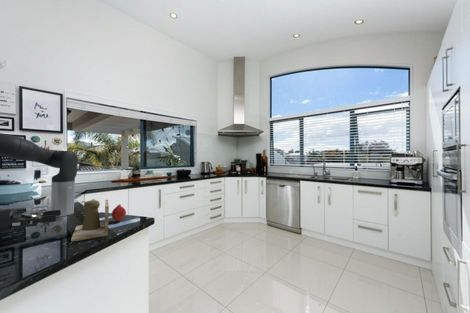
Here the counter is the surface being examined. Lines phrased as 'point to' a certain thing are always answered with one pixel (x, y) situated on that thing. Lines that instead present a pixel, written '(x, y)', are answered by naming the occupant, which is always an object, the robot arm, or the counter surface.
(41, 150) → the robot arm
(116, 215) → the onion
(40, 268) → the counter surface
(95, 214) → the olive yellow tapered cylinder
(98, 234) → the condiment stand
